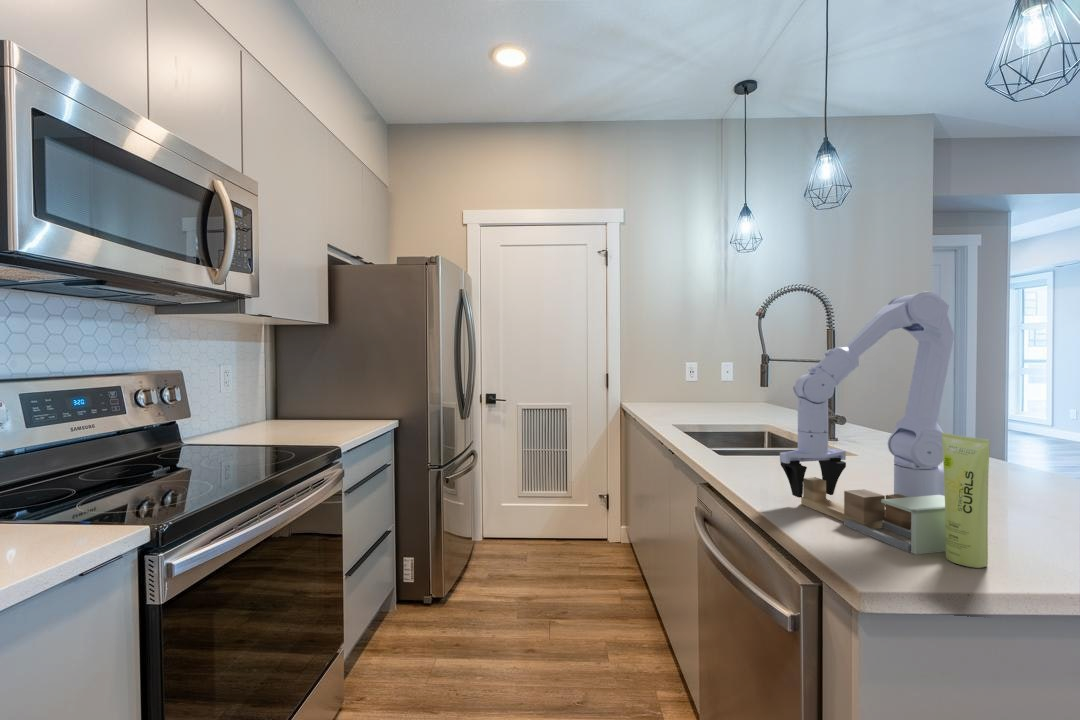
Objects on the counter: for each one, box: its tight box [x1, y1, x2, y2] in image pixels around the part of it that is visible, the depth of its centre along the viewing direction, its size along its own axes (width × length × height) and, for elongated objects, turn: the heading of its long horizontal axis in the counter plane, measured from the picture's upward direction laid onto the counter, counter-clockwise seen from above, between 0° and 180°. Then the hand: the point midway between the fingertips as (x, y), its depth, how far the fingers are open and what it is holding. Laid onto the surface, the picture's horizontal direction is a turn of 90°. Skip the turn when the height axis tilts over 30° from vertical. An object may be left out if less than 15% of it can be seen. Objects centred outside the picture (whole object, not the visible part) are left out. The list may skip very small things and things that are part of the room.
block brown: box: [884, 493, 911, 530], centre depth 96 cm, size 4×8×6 cm, turn 12°
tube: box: [942, 432, 991, 569], centre depth 78 cm, size 6×5×20 cm
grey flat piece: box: [843, 519, 911, 553], centre depth 90 cm, size 13×13×2 cm
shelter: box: [881, 495, 946, 555], centre depth 85 cm, size 12×6×7 cm, turn 102°
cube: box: [843, 489, 886, 522], centre depth 94 cm, size 4×4×4 cm
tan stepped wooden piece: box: [800, 476, 883, 530], centre depth 100 cm, size 4×16×6 cm, turn 12°
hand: (812, 495), depth 107 cm, fingers open, 7 cm apart
